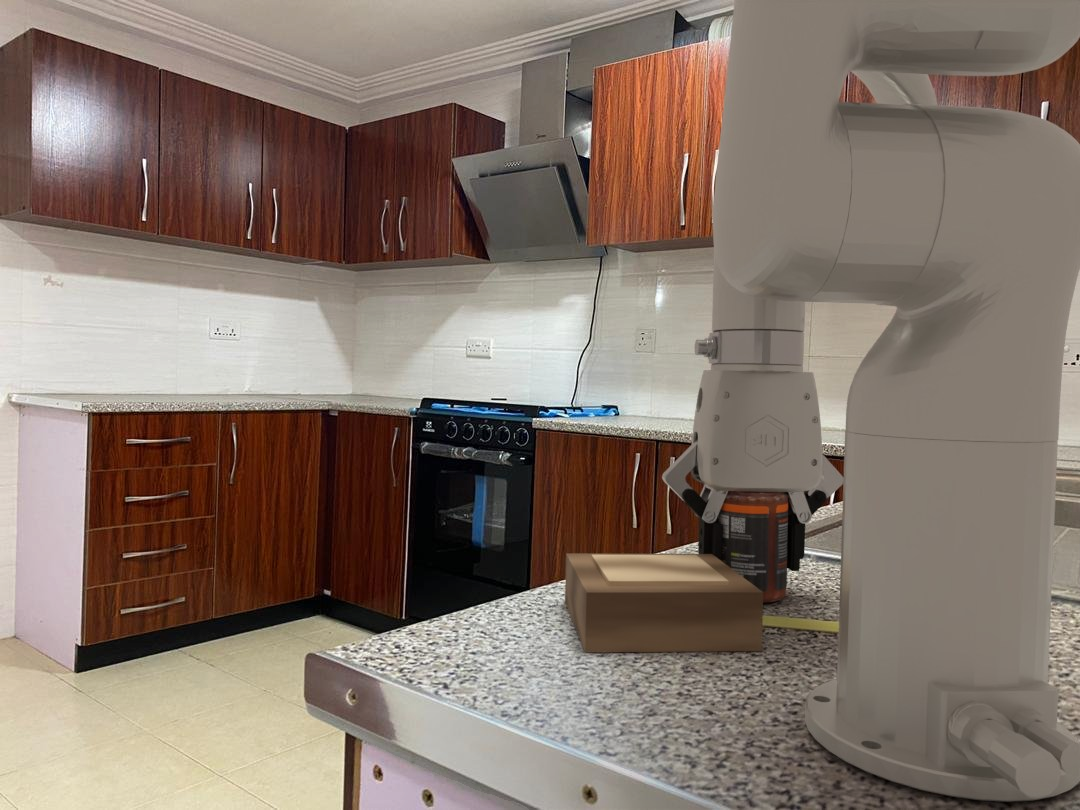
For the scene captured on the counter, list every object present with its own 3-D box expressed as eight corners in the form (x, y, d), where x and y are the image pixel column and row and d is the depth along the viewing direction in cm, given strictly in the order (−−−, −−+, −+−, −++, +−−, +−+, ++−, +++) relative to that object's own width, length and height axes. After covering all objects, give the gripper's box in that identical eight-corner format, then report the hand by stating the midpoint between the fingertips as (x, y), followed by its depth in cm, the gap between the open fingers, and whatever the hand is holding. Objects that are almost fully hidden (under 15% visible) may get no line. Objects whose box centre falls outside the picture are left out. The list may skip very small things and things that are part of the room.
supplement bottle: (779, 588, 72) (782, 460, 72) (793, 607, 66) (797, 467, 66) (710, 585, 73) (713, 458, 72) (718, 603, 67) (721, 465, 67)
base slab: (761, 651, 55) (763, 587, 55) (585, 652, 54) (586, 588, 54) (710, 602, 67) (711, 550, 67) (564, 602, 66) (566, 549, 66)
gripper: (666, 351, 64) (660, 578, 65) (877, 356, 66) (869, 578, 66) (646, 353, 72) (641, 557, 73) (836, 358, 73) (829, 558, 74)
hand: (750, 565), depth 69 cm, fingers closed on supplement bottle, 6 cm apart
